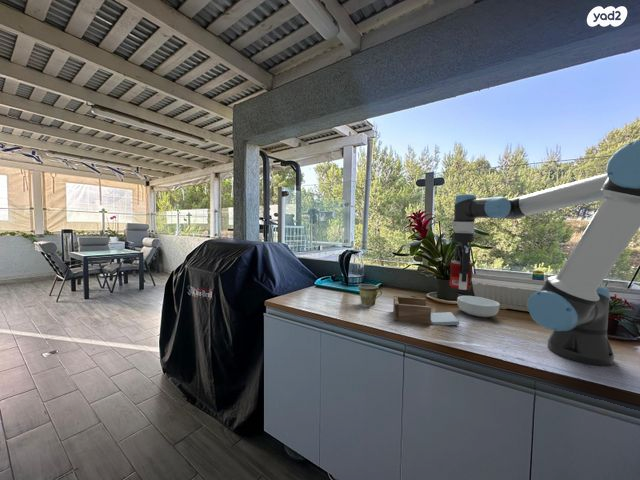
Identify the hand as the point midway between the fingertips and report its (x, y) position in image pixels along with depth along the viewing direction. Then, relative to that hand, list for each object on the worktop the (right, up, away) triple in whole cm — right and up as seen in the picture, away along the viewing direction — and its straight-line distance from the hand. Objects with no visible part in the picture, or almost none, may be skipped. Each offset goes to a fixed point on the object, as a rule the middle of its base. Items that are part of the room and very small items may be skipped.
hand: (459, 286), depth 108 cm
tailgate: (-6, -15, +2) cm, 16 cm away
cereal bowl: (+15, -16, +12) cm, 25 cm away
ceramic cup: (-33, -14, +24) cm, 43 cm away
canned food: (0, 0, 0) cm, 0 cm away
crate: (-19, -15, +6) cm, 25 cm away
